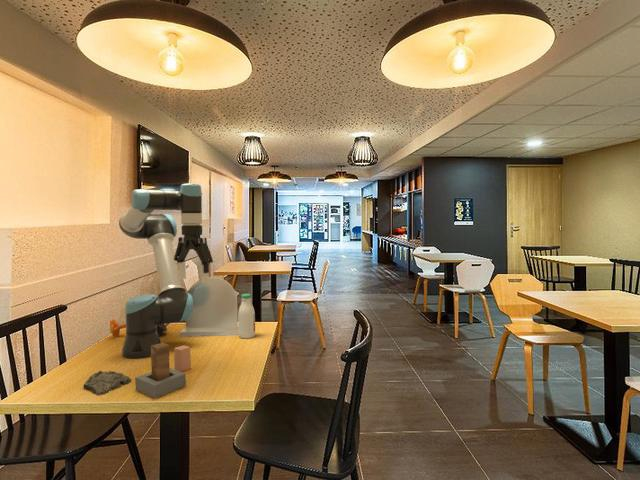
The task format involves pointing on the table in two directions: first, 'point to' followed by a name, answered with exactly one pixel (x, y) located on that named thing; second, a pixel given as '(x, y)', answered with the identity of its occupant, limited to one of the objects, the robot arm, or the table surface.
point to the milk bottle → (246, 317)
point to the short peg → (182, 358)
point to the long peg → (160, 361)
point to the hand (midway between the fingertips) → (193, 280)
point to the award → (212, 309)
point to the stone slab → (105, 382)
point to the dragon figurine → (116, 328)
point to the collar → (160, 383)
